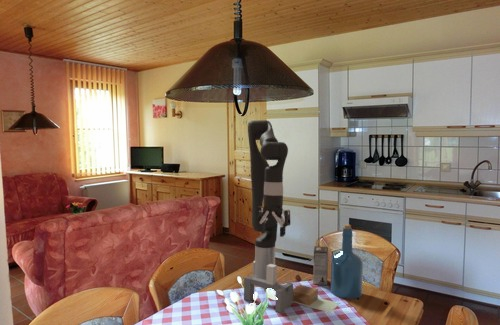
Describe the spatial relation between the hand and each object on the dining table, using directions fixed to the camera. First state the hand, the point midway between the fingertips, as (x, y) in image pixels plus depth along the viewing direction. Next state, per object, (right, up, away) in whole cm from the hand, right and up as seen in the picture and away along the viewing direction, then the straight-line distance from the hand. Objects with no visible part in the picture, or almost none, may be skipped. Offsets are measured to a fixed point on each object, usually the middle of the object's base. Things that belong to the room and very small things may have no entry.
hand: (272, 234), depth 139 cm
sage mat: (+16, -28, +3) cm, 32 cm away
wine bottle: (+32, -28, +13) cm, 45 cm away
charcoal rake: (-2, -28, +2) cm, 28 cm away
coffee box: (+24, -28, +26) cm, 45 cm away
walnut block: (+13, -27, +5) cm, 31 cm away
